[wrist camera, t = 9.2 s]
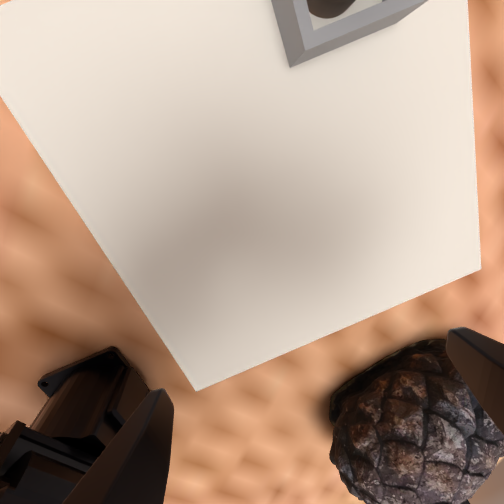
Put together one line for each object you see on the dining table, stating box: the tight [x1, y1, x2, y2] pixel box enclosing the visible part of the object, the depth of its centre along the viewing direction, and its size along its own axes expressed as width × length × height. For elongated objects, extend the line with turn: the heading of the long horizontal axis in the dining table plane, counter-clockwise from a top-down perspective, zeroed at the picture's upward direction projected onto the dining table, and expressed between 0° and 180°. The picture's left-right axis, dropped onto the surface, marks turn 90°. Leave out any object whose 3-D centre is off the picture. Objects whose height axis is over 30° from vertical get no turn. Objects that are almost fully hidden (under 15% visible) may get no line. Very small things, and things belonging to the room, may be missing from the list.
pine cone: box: [329, 339, 504, 504], centre depth 22 cm, size 10×18×10 cm, turn 132°
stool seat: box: [0, 0, 481, 392], centre depth 16 cm, size 25×25×4 cm
